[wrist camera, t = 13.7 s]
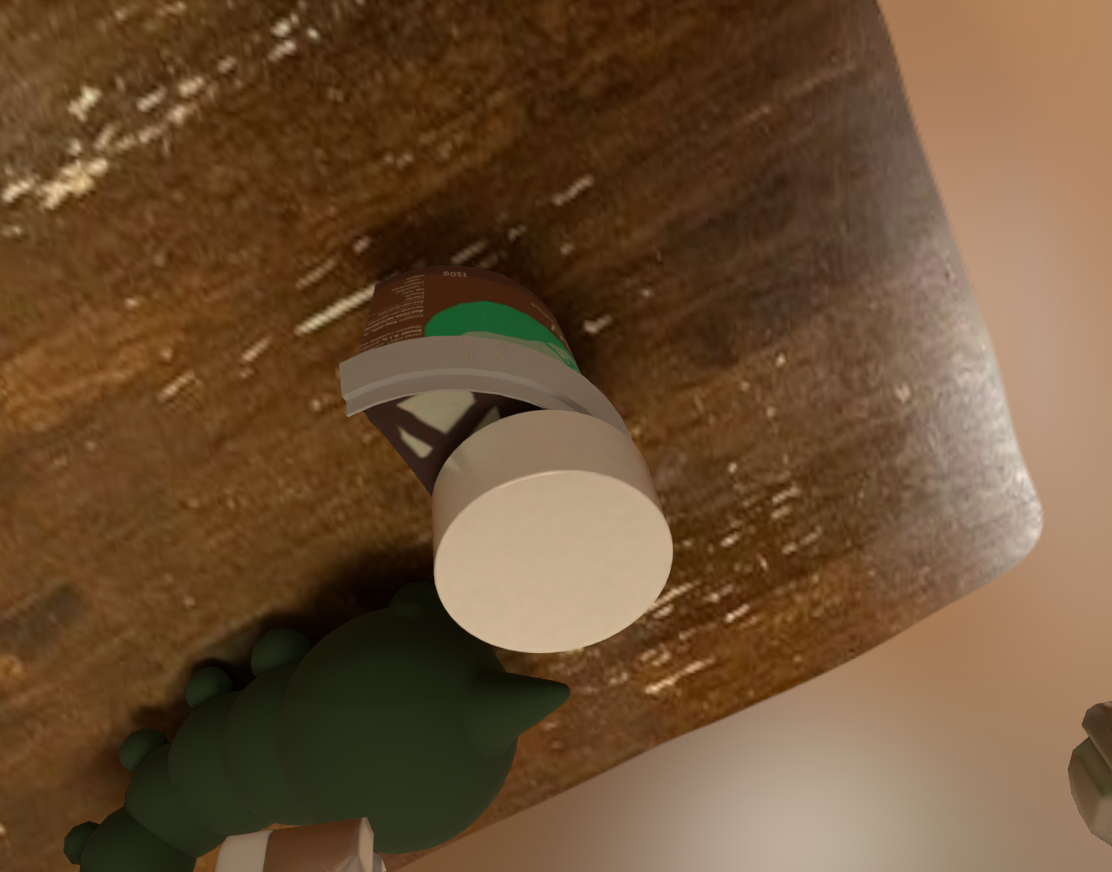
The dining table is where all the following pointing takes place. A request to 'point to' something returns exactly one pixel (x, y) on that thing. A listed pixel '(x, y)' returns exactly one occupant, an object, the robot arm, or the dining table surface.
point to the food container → (460, 362)
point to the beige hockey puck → (548, 532)
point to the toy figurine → (327, 742)
